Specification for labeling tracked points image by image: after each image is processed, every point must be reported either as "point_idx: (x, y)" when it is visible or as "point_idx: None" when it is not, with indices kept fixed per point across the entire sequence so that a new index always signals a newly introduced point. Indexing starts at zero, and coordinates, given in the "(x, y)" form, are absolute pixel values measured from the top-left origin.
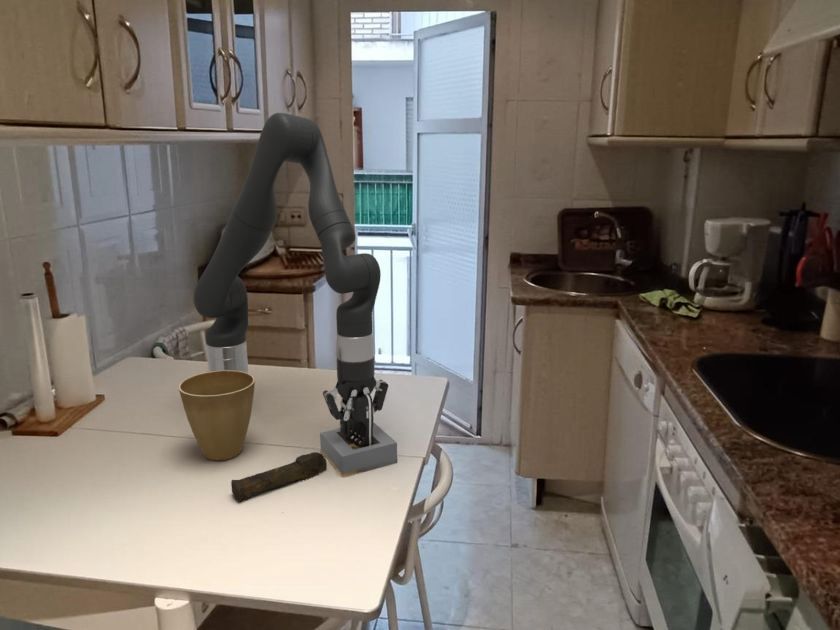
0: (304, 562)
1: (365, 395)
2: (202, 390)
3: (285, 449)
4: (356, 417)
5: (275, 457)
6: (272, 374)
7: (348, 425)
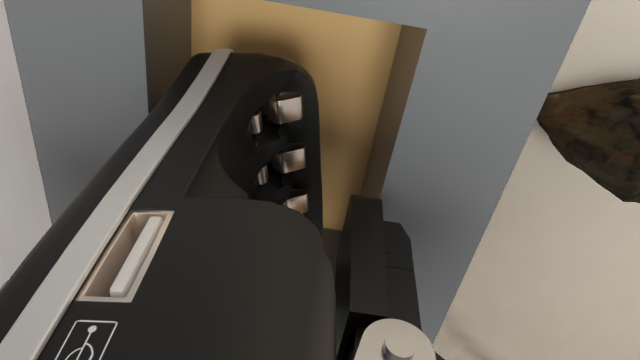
0: None
1: None
2: None
3: (517, 351)
4: (321, 284)
5: (602, 328)
6: None
7: (366, 269)
